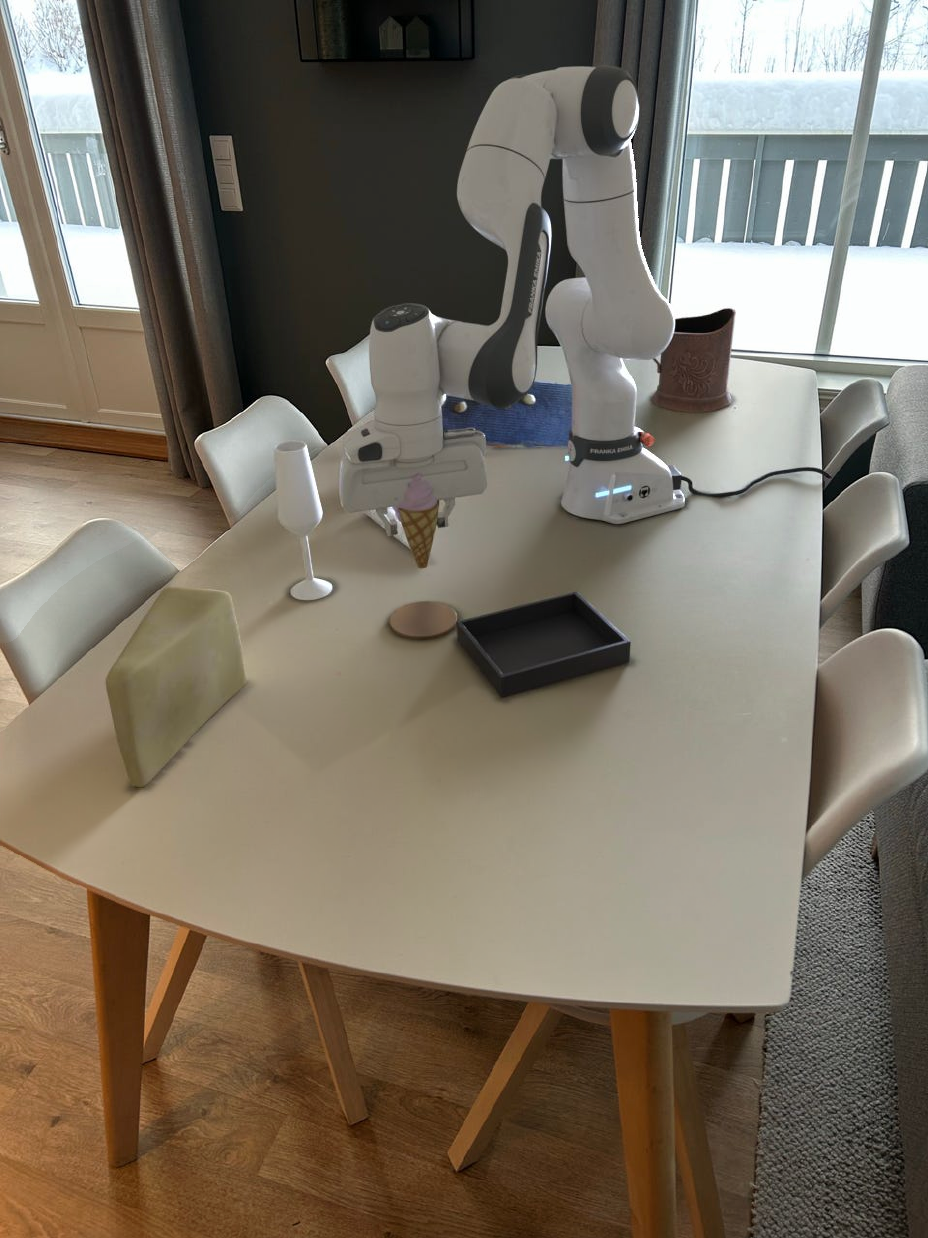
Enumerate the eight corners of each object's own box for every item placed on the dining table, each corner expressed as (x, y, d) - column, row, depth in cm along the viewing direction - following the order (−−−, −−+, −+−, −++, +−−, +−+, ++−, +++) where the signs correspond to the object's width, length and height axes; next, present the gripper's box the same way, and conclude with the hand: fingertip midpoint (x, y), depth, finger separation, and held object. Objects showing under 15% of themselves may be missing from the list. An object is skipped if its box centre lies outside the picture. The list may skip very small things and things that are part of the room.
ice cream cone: (407, 581, 126) (398, 482, 118) (389, 563, 131) (380, 466, 123) (450, 569, 129) (444, 471, 121) (431, 552, 133) (424, 456, 125)
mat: (589, 414, 216) (593, 372, 207) (582, 487, 198) (586, 445, 189) (404, 400, 221) (400, 359, 212) (380, 471, 203) (376, 429, 194)
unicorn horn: (408, 568, 149) (406, 542, 146) (359, 515, 167) (357, 491, 165) (435, 561, 150) (433, 535, 148) (383, 509, 169) (381, 485, 166)
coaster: (448, 599, 140) (448, 596, 139) (464, 632, 131) (464, 629, 131) (384, 610, 138) (384, 607, 138) (397, 644, 129) (396, 641, 129)
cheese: (175, 794, 104) (146, 688, 97) (99, 785, 106) (65, 680, 98) (251, 683, 123) (232, 587, 115) (185, 676, 125) (162, 581, 117)
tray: (575, 610, 136) (576, 591, 134) (629, 661, 123) (630, 641, 122) (457, 641, 130) (456, 621, 128) (501, 698, 118) (501, 677, 116)
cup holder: (740, 410, 207) (754, 296, 194) (634, 413, 208) (641, 301, 195) (721, 385, 223) (733, 279, 210) (623, 389, 224) (629, 283, 211)
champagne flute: (294, 579, 147) (272, 438, 135) (335, 578, 147) (316, 437, 134) (286, 600, 141) (262, 455, 129) (329, 599, 141) (308, 454, 129)
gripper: (479, 418, 124) (482, 510, 131) (330, 436, 120) (342, 530, 127) (492, 433, 119) (494, 528, 126) (337, 453, 115) (348, 550, 122)
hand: (416, 529), depth 127 cm, fingers closed on ice cream cone, 6 cm apart
